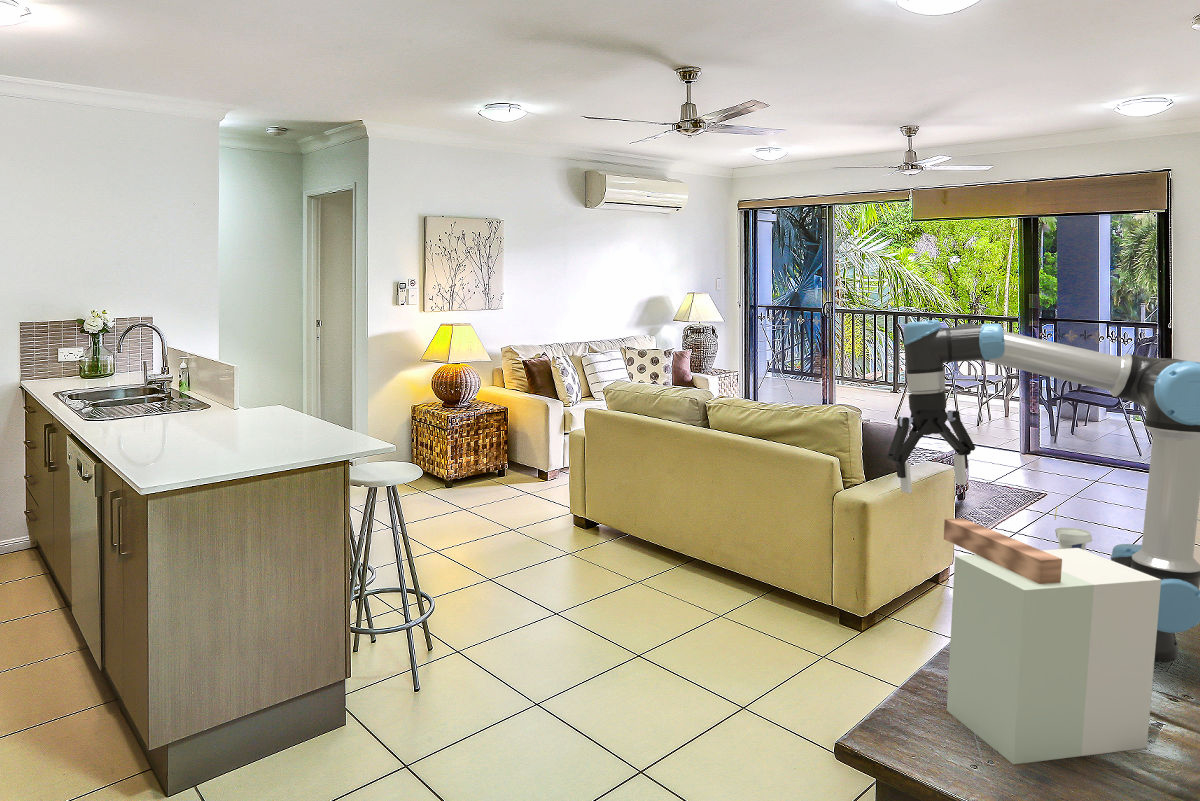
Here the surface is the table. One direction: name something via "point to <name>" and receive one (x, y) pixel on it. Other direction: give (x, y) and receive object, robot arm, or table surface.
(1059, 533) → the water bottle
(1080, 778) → the table surface
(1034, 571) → the bar
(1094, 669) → the pale green cube
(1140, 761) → the table surface
